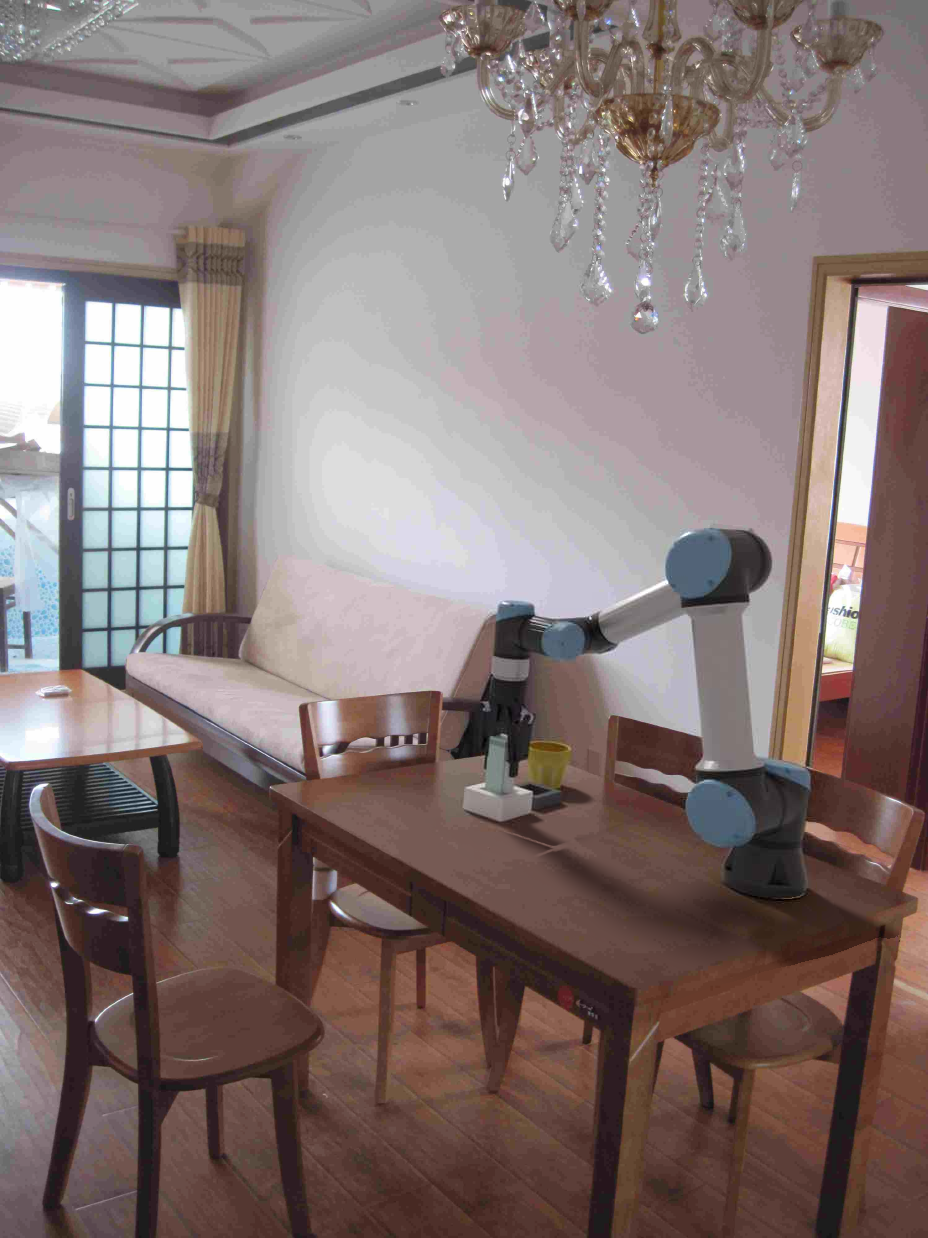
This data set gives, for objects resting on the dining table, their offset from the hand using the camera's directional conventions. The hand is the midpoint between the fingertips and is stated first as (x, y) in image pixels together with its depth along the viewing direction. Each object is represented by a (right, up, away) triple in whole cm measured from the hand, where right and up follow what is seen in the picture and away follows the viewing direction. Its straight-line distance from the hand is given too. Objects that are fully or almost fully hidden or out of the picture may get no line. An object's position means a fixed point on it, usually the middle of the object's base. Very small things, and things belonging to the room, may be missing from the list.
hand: (499, 788), depth 236 cm
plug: (0, -3, 0) cm, 3 cm away
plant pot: (+11, -4, +24) cm, 26 cm away
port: (0, -5, +1) cm, 5 cm away
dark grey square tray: (+7, -5, +10) cm, 13 cm away
